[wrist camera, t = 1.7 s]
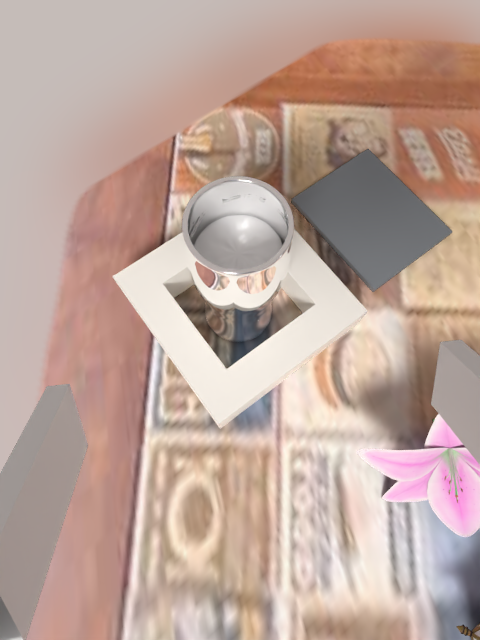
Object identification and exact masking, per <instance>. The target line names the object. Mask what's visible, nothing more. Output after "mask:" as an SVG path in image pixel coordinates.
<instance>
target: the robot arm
mask: <svg viewBox="0 0 480 640" xmlns="http://www.w3.org/2000/svg"><path fill="white" fill-rule="evenodd" d="M431 405H432V406H433V407H434V408H435V410H436V411H437V412H438V413H439V415H440V416H441V417H442V418H443V420H444V421H445V422H446V423H447V425H448V426H449V427H450V428H451V430H452V431H453V432H454V433H455V435H456V436H457V437H458V438H459V440H460V441H461V442H462V443H463V445H464V446H465V447H466V448H467V450H468V451H469V452H470V454H471V455H472V456H473V457H474V459H475V460H476V461H477V462H478V464H479V465H480V356H479V355H478V354H477V353H476V352H475V351H474V350H472V349H471V348H470V347H469V346H468V345H467V344H465V343H464V342H463V341H462V340H454V341H445V342H440V348H439V354H438V361H437V368H436V374H435V381H434V388H433V394H432V401H431ZM87 447H88V443H87V440H86V437H85V433H84V430H83V427H82V423H81V420H80V417H79V413H78V410H77V407H76V403H75V400H74V397H73V393H72V390H71V387H70V384H64V385H55V386H47V387H46V389H45V391H44V393H43V395H42V397H41V399H40V400H39V402H38V404H37V406H36V408H35V410H34V412H33V413H32V415H31V417H30V419H29V421H28V423H27V425H26V426H25V429H24V430H23V432H22V434H21V436H20V438H19V440H18V442H17V443H16V445H15V447H14V449H13V451H12V453H11V455H10V456H9V458H8V460H7V462H6V464H5V466H4V467H3V469H2V471H1V473H0V640H26V638H27V634H28V631H29V628H30V625H31V622H32V619H33V616H34V613H35V610H36V606H37V603H38V600H39V597H40V594H41V591H42V588H43V585H44V581H45V578H46V575H47V572H48V569H49V566H50V563H51V560H52V556H53V553H54V550H55V547H56V544H57V541H58V538H59V535H60V531H61V528H62V525H63V522H64V519H65V516H66V513H67V510H68V507H69V503H70V500H71V497H72V494H73V491H74V488H75V485H76V482H77V478H78V475H79V472H80V469H81V466H82V463H83V460H84V457H85V453H86V450H87Z"/></svg>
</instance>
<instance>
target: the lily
mask: <svg viewBox="0 0 480 640" xmlns="http://www.w3.org/2000/svg"><path fill="white" fill-rule="evenodd" d="M357 454H358V455H359V456H360V457H361V458H362V459H363V460H364V461H365V462H366V463H368V464H369V465H370V466H372V467H373V468H375V469H376V470H378V471H379V472H381V473H382V474H384V475H386V476H388V477H390V478H392V479H394V480H398V482H397V483H395V484H394V485H393V486H392V487H391V488H390V489H389V490H388V491H387V492H386V493H385V494H384V495H383V497H382V499H383V500H385V501H390V502H417V501H424V500H429V504H430V505H431V507H432V509H433V511H434V513H435V514H436V515H437V516H438V518H439V519H440V520H441V521H442V522H443V523H444V524H445V525H446V526H447V527H448V528H449V529H451V530H452V531H453V532H454V533H456V534H457V535H459V536H463V537H470V536H471V535H473V534H474V533H475V532H476V531H477V530H478V529H479V528H480V465H479V464H478V462H477V461H476V460H475V459H474V457H473V456H472V455H471V454H470V452H469V451H468V450H467V448H466V447H465V446H464V445H463V443H462V442H461V441H460V440H459V438H458V437H457V436H456V435H455V433H454V432H453V431H452V430H451V428H450V427H449V426H448V425H447V423H446V422H445V421H444V420H443V418H442V417H441V416H440V415H439V413H438V415H437V417H436V418H435V419H433V424H432V426H431V429H430V431H429V433H428V436H427V439H426V442H425V446H424V449H419V450H383V449H359V450H357Z"/></svg>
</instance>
